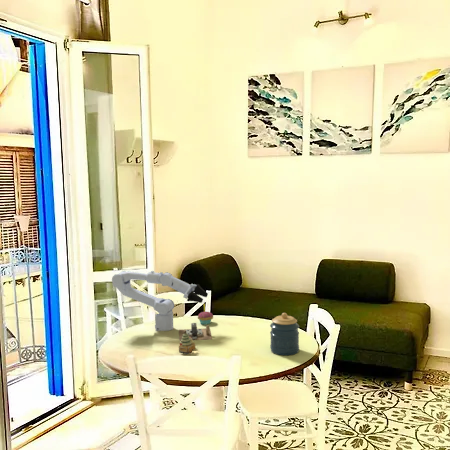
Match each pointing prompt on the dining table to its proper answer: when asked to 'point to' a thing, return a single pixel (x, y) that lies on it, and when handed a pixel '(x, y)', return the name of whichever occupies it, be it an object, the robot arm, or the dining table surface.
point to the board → (204, 337)
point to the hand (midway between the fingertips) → (204, 298)
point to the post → (193, 325)
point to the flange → (194, 332)
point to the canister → (284, 335)
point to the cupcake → (205, 317)
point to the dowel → (207, 330)
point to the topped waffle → (186, 344)
